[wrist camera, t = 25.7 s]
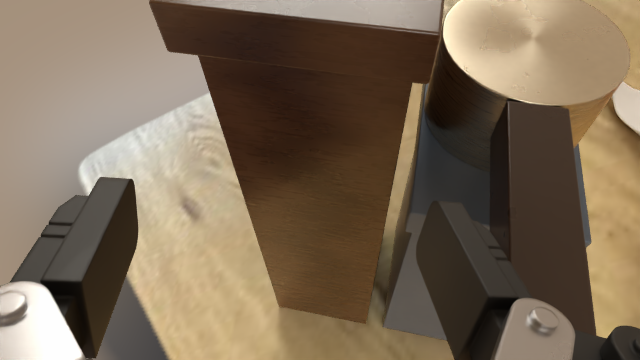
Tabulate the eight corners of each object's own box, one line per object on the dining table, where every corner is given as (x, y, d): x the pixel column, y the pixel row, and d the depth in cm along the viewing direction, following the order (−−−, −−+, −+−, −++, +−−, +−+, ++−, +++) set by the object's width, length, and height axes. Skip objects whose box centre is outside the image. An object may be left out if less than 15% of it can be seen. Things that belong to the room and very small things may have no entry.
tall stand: (270, 316, 41) (147, 1, 14) (301, 203, 47) (256, -158, 20) (369, 336, 39) (441, 34, 13) (387, 218, 46) (458, -147, 19)
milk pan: (385, 429, 16) (403, 411, 12) (429, 55, 27) (447, -23, 23) (625, 485, 15) (737, 488, 11) (571, 72, 26) (616, -6, 22)
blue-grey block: (375, 337, 39) (410, 212, 21) (392, 219, 46) (429, 44, 27) (469, 357, 38) (592, 243, 20) (472, 232, 45) (568, 60, 26)
